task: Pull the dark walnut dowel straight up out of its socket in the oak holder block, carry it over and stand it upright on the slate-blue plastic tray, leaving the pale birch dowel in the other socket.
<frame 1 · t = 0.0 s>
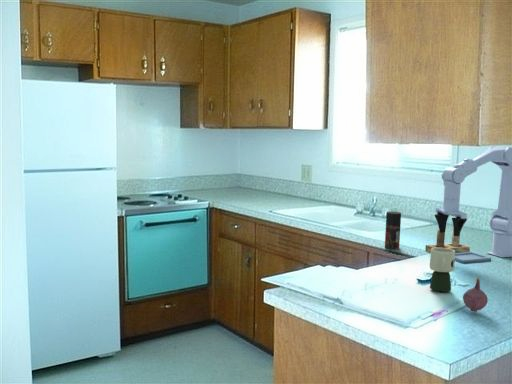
hand: (449, 234, 205), 10 cm above the worktop, tool pointing down, fingers open, 7 cm apart
birch dowel: (454, 251, 222), resting in holder block
tray: (467, 258, 209), on the worktop
deodorant: (391, 248, 225), on the worktop
holder block: (447, 251, 220), on the worktop
vegetable: (474, 313, 146), on the worktop
walnut dowel: (439, 252, 218), resting in holder block
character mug: (440, 291, 166), on the worktop
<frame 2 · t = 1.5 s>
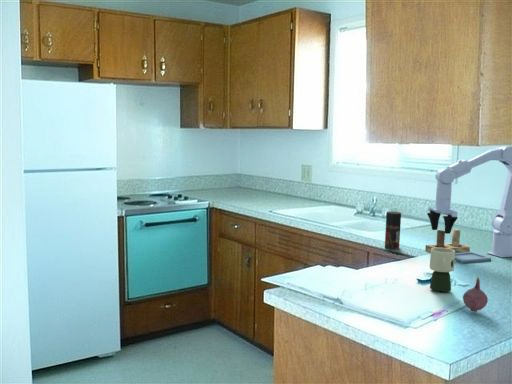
hand: (441, 231, 217), 9 cm above the worktop, tool pointing down, fingers open, 7 cm apart
nothing on the worktop moved.
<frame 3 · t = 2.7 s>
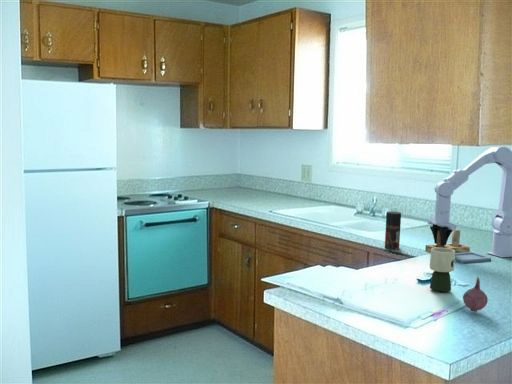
hand: (440, 244, 218), 3 cm above the worktop, tool pointing down, fingers closed on walnut dowel, 3 cm apart
walnut dowel: (439, 252, 218), resting in holder block, touching gripper
everything else where it was.
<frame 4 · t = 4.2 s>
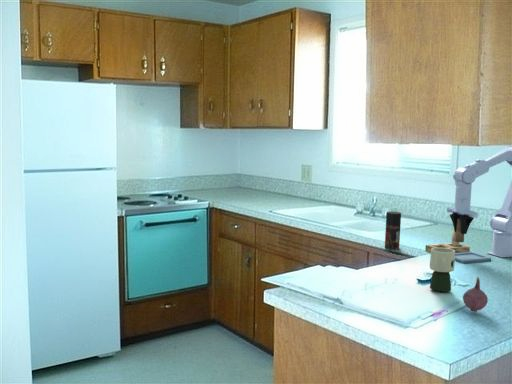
hand: (460, 232, 210), 10 cm above the worktop, tool pointing down, fingers closed on walnut dowel, 3 cm apart
walnut dowel: (459, 241, 211), point 6 cm above the worktop, touching gripper
everything else where it was.
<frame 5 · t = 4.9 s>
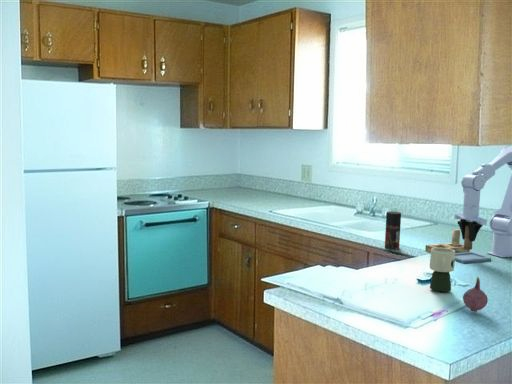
hand: (468, 240, 208), 7 cm above the worktop, tool pointing down, fingers closed on walnut dowel, 3 cm apart
walnut dowel: (467, 248, 208), point 4 cm above the worktop, touching gripper
everything else where it was.
when the fingers open (5 cm above the worktop, at t = 5.6 s): walnut dowel stays where it is, resting on tray.
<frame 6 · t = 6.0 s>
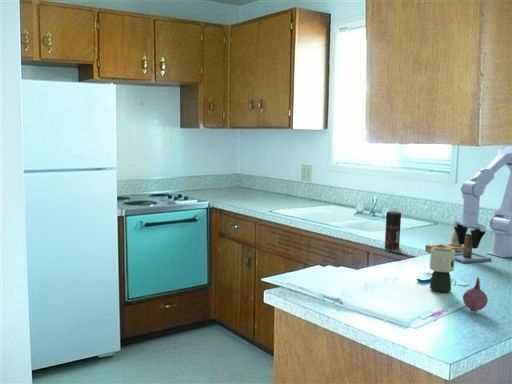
hand: (468, 246, 208), 5 cm above the worktop, tool pointing down, fingers open, 6 cm apart
walnut dowel: (467, 257, 209), point 1 cm above the worktop, touching tray
everything else where it was.
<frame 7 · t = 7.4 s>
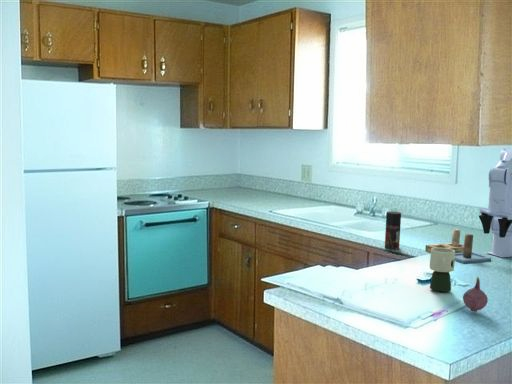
hand: (494, 235, 203), 10 cm above the worktop, tool pointing down, fingers open, 7 cm apart
nothing on the worktop moved.
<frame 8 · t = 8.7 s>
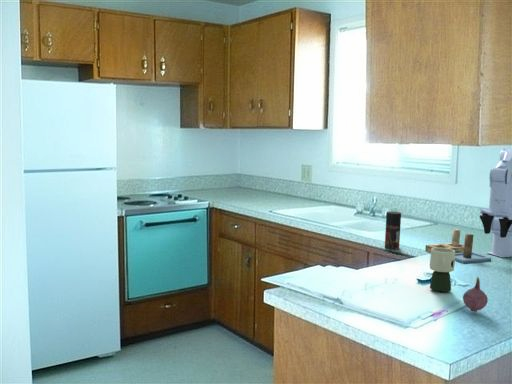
hand: (495, 235, 203), 10 cm above the worktop, tool pointing down, fingers open, 7 cm apart
nothing on the worktop moved.
at the end: walnut dowel inside the target area on the tray (0.1 cm from its centre), point 0.6 cm above the tray's base; walnut dowel tilted 2°; birch dowel moved 0.0 cm from its start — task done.
